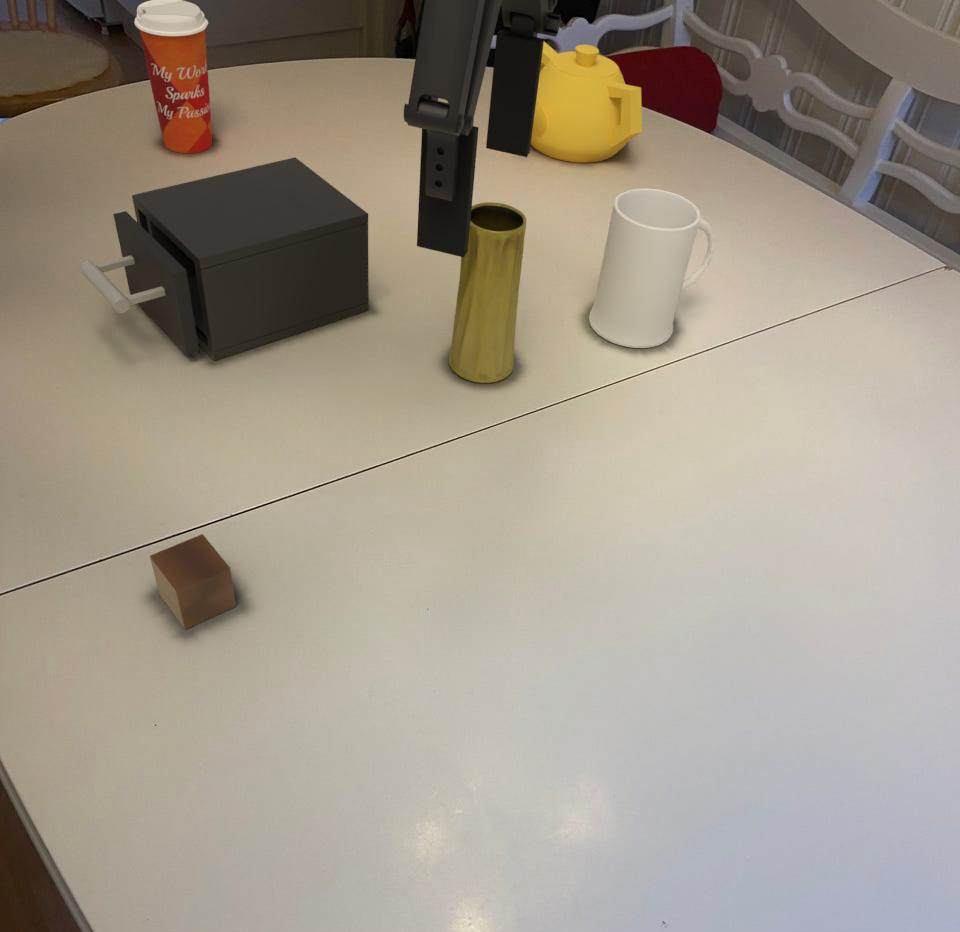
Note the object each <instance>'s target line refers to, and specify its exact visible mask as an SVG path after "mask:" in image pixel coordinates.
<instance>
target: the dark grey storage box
mask: <svg viewBox="0 0 960 932" xmlns="http://www.w3.org/2000/svg"><path fill="white" fill-rule="evenodd" d="M131 198H132V203H133V208H134V213H135V218H136V219H135V220H136V221H137V222H138V223H139V224H140V225H141V226H142V227H143V228H144V229H145V230H146V231H147V232H148V233H149V230H148V225H147V219H146V217H147V218H148V219H149V220H150V221H151V222H152V223H153V224H154V225H155V226H156V227H157V228H159V229H160V230H161V231H162V232H163V233H164V234H165V235H166V236H167V237H168V238H169V239H170V240H171V241H172V242H173V243H174V244H175V245H176V246H177V247H178V248H179V249H180V250H181V251H182V252H184V253H185V254H186V255H187V256H188V257H189V258H190V259H191V260H192V261H193V262H194V263H195V264H196V265H197V273H198V280H199V286H200V293H201V300H202V306H203V313H204V320H205V326H206V333H207V337H206V336H205V335H204V333H203V332H202V331H201V330H200V329H199V328H198V327H197V326H196V325H195V328H196V334H197V340H198V346H199V347H200V348H201V349H202V350H203V351H204V352H205V353H207V355H208V356H209V357H210V358H211V359H212V360H213V361H214V362H215V361H219V360H222V359H225V358H227V357H230V356H234V355H236V354H240V353H243V352H246V351H249V350H252V349H254V348H255V349H256V348H258V347H261V346H264V345H267V344H270V343H273V342H277V341H280V340H282V339H286V338H288V337H289V338H290V337H292V336H295V335H298V334H301V333H304V332H307V331H310V330H313V329H316V328H319V327H322V326H326V325H328V324H332V323H335V322H338V321H341V320H344V319H346V318H350V317H353V316H357V315H359V314H362V313H366V312H368V311H369V310H370V309H369V307H370V305H369V304H370V303H369V300H370V299H369V296H370V295H369V213H368V212H367V211H365V210H364V209H363V208H362V207H360V206H359V205H358V204H356V202H354V201H352V200H351V199H350V198H348V197H347V196H346V195H345V194H343V193H342V192H341V191H340V190H338V189H337V188H336V187H334V186H333V185H332V184H331V183H329V182H328V181H327V180H326V179H324V178H323V177H322V176H320V175H319V174H317V172H315V171H313V170H312V169H311V168H310V167H308V165H306V164H305V163H303V162H302V161H301V160H299V158H297V157H291V158H286V159H281V160H278V161H277V160H276V161H273V162H269V163H265V164H260V165H256V166H251V167H247V168H242V169H239V170H235V171H231V172H225V173H221V174H216V175H214V176H208V177H203V178H200V179H195V180H191V181H187V182H182V183H179V184H173V185H170V186H165V187H161V188H157V189H153V190H148V191H144V192H140V193H139V192H138V193H135V194H132V195H131Z"/></svg>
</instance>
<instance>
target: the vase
mask: <svg viewBox="0 0 960 932" xmlns="http://www.w3.org/2000/svg"><path fill="white" fill-rule="evenodd" d="M526 228H527V217H526V215H525V214H524V213H523V212H522V211H521V210H520V209H517V208H516V207H514V206H512V205H509V204H506V203H502V202H491V201H489V202H480V203H479V202H478V203H476V204H472V209H471V220H470V232H469V243H468V252H467V253H466V255H465V256H464V257H460V271H459V280H458V281H459V282H458V289H457V296H456V302H455V303H456V304H455V311H454V320H453V327H452V328H453V329H452V336H451V344H450V345H451V347H450V352H449V356H448V365H449V367H450V369H451V370H452V371H453V372H454V373H455V374H456V375H458V377H460V378H461V379H464V380H467V381H469V382H473V383H479V384H489V383H490V384H491V383H496V382H500V381H502V380H504V379H506V378H507V377H508V376H509V375H510V374H511V373H512V372H513V370H514V367H515V366H514V353H515V344H516V331H517V330H516V329H517V314H518V303H519V293H520V284H521V274H522V264H523V255H524V246H525V237H526V236H525V235H526Z"/></svg>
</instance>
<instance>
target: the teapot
mask: <svg viewBox="0 0 960 932" xmlns="http://www.w3.org/2000/svg"><path fill="white" fill-rule="evenodd" d="M574 48H575V49H574V51H572V50H571V51H564V52H560V53H558V52H557V51H556V50H555V49H554V48H553V47H551V46H550V45H549V44H548V43H547V42H545V41H544V44H543V52H542V60H541V67H540V75H539V83H538V91H537V99H536V106H535V114H534V122H533V130H532V138H531V145H530V146H532V147H533V149H535V150H536V151H538V152H539V153H541V154H543V155H545V156H547V157H550V158H552V159H556V160H560V161H565V162H569V163H570V162H571V163H578V164H579V163H581V164H582V163H583V164H586V163H587V164H588V163H597V162H602V161H605V160H608V159H610V158H612V157H614V156H615V155H616V154H617V153H618V152H619V151H620V150H622V149H623V148H624V147H625V146H626V145H627V144H628V142H629V141H630V140H632V139H633V138H634V137H637V135H640V134H641V133H642V132H643V112H642V111H643V110H642V108H643V107H642V106H643V105H642V87H640V86H636V85H631V84H626V82H625V79H624V75H623V74H622V71H621V70H620V67H619V65H618V64H617V63H616V62H615V61H613V60H612V59H610V58H608V57H607V56H604V55H601V54H599V53H600V50H599V48H598V47H596V46H594V45H591V44H584V43H583V44H579V45H576V46H575V47H574Z"/></svg>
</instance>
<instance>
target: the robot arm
mask: <svg viewBox="0 0 960 932" xmlns="http://www.w3.org/2000/svg"><path fill="white" fill-rule="evenodd" d="M423 3H424V4H423V9H422V16H421V23H420V29H419V35H418V41H417V47H416V54H415V59H414V65H413V71H412V77H411V85H410V90H409V97H408V103H404V106H403V120H404V122H405V123H406V124H407V125H408V126H409V127H414V128H417V129H421V139H420V140H421V141H420V143H421V144H420V166H419V188H418V212H417V232H416V236H417V237H416V247H418V248H421V249H427V250H430V251H435V252H439V253H443V254H447V255H452V256H456V257H460V258H461V257H464V256H465V255H466V253H467V252H468V243H469V232H470V220H471V209H472V206H473V196H474V186H475V185H474V184H475V174H476V164H477V163H476V162H477V150H478V140H479V128H480V127H478V126H475V125H474V123H475V120H474V119H475V113H476V110H477V106H478V102H479V98H480V93H481V88H482V85H483V80H484V77H485V72H486V68H487V65H488V60H489V56H490V52H491V47H492V43H493V39H494V35H495V31H496V30H495V29H496V27H497V26H496V25H497V23H498V18H499V15H500V9H501V17H502V24H503V26H504V27H507V28H510V31H508V30H504V29H499V30H498V32H497V33H496V37H495V49H494V59H493V67H492V68H493V69H492V80H491V91H490V100H489V111H488V121H487V133H486V141H485V142H486V143H485V148H486V149H488V150H493V151H497V152H501V153H506V154H510V155H515V156H519V157H523V158H527V157H528V156H529V155H530V153H531V152H530V151H531V146H532V145H531V138H532V130H533V122H534V114H535V106H536V99H537V91H538V83H539V75H540V67H541V60H542V52H543V44H544V42H545V38H541V37H538V34H540V35H545V36H550V37H554V38H556V37H557V36H558V33H559V30H560V25H561V18H562V16H561V14H557V13H553V12H554V10H555V8H556V6H557V5H558V0H424V2H423ZM439 99H440V100H439ZM441 100H444V101H447V102H444V101H441Z"/></svg>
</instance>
